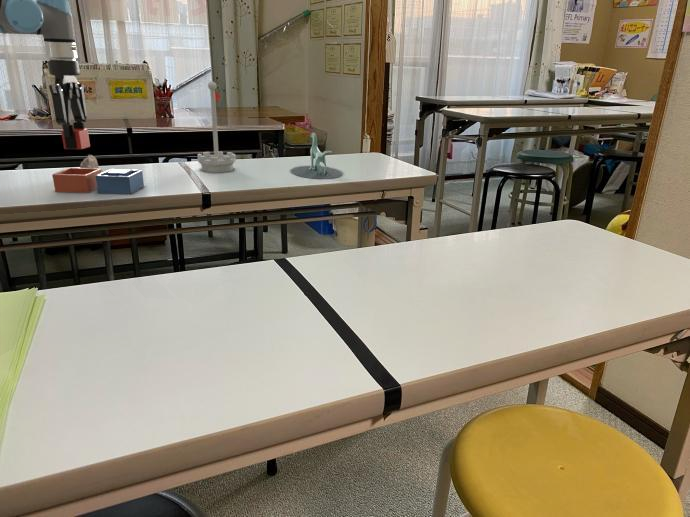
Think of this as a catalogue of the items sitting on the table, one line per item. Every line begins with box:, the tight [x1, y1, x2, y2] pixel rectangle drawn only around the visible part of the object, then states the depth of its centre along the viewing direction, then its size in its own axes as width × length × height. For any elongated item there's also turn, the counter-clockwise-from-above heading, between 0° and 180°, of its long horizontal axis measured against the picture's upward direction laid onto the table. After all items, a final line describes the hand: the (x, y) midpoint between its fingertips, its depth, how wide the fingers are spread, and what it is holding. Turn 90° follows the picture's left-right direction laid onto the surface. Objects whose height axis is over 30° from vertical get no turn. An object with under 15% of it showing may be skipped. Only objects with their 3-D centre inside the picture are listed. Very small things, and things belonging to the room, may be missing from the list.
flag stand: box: [197, 80, 236, 173], centre depth 179 cm, size 13×13×30 cm
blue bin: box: [96, 168, 145, 195], centre depth 152 cm, size 10×10×5 cm
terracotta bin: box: [51, 167, 103, 194], centre depth 153 cm, size 10×10×5 cm
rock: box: [79, 154, 105, 173], centre depth 165 cm, size 6×14×7 cm, turn 38°
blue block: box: [108, 168, 133, 176], centre depth 152 cm, size 5×5×5 cm
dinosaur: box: [290, 132, 343, 180], centre depth 182 cm, size 25×18×13 cm
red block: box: [60, 128, 91, 150], centre depth 146 cm, size 5×5×5 cm
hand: (76, 146), depth 147 cm, fingers closed on red block, 5 cm apart
